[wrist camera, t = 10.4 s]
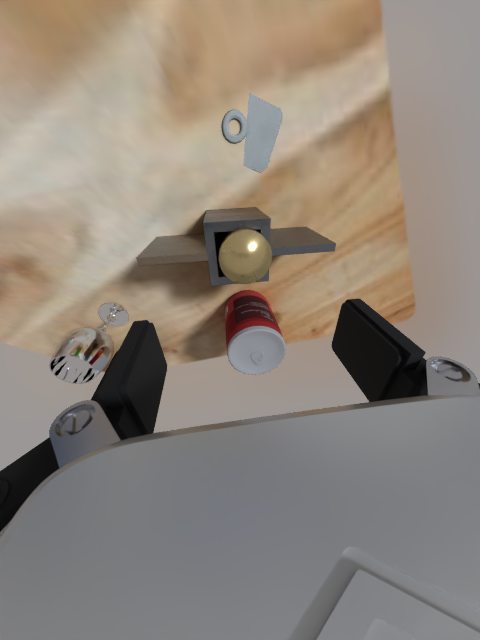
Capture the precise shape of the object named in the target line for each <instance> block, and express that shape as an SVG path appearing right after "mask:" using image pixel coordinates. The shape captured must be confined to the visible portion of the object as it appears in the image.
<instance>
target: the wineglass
mask: <svg viewBox="0 0 480 640" xmlns="http://www.w3.org/2000/svg"><path fill="white" fill-rule="evenodd" d="M99 316H100V318H101V319H102V320H103V321H104V322H105V323H106V324H105V325H104V326H102V327H101V328H99V329H98V328H94V327H83V328H79V329H76V330H74V331H72V332H71V333H69V334H68V335H67V336H66V337H65V338H64V339H63V340H62V341H61V343H60V344H59V346H58V347H57V349H56V351H55V353H54V355H53V357H52V359H51V361H50V365H49V367H50V370H51V371H52V373H53V374H54V375H55V376H56V377H58V378H59V379H61V380H64V381H66V382H69V383H75V384H82V383H87V382H90V381H91V380H93V379H94V378H95V377H96V376H97V375H98V374H99V373H100V372H101V371H102V370H103V369H104V368H105V367H106V365H107V364H108V363H109V361H110V360H111V358H112V355H113V352H114V342H113V340H112V338H111V337H110V336H109V335H108V334H107V333H106V329H107V327H108V325H112V326H122V325H124V324H126V323H127V322H128V320H129V315H128V312H127V311H126V310H125V309H124V308H123V307H122V306H120V305H118V304H116V303H105V304H103V305H101V307H100V308H99Z"/></svg>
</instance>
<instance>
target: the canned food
mask: <svg viewBox="0 0 480 640" xmlns="http://www.w3.org/2000/svg"><path fill="white" fill-rule="evenodd" d="M225 326H226V344H227V355H228V359H229V362H230V363H231V365H232V366H233V367H234V368H235V369H236V370H238V371H240V372H242V373H245V374H251V375H256V374H263V373H266V372H269V371H271V370H273V369H274V368H276V367H277V366H278V365H279V364H280V363H281V362H282V361H283V359H284V357H285V354H286V345H285V341H284V339H283V336H282V334H281V331H280V329H279V326H278V324H277V322H276V319H275V317H274V315H273V312H272V310H271V308H270V305H269V303H268V301H267V300H266V298H265V297H264V296H263V295H261V294H259V293H258V292H255V291H251V290H244V291H240V292H238V293H236V294H234V295H233V296H232V297H231V298H230V299H229V301H228V302H227V304H226V307H225Z"/></svg>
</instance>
